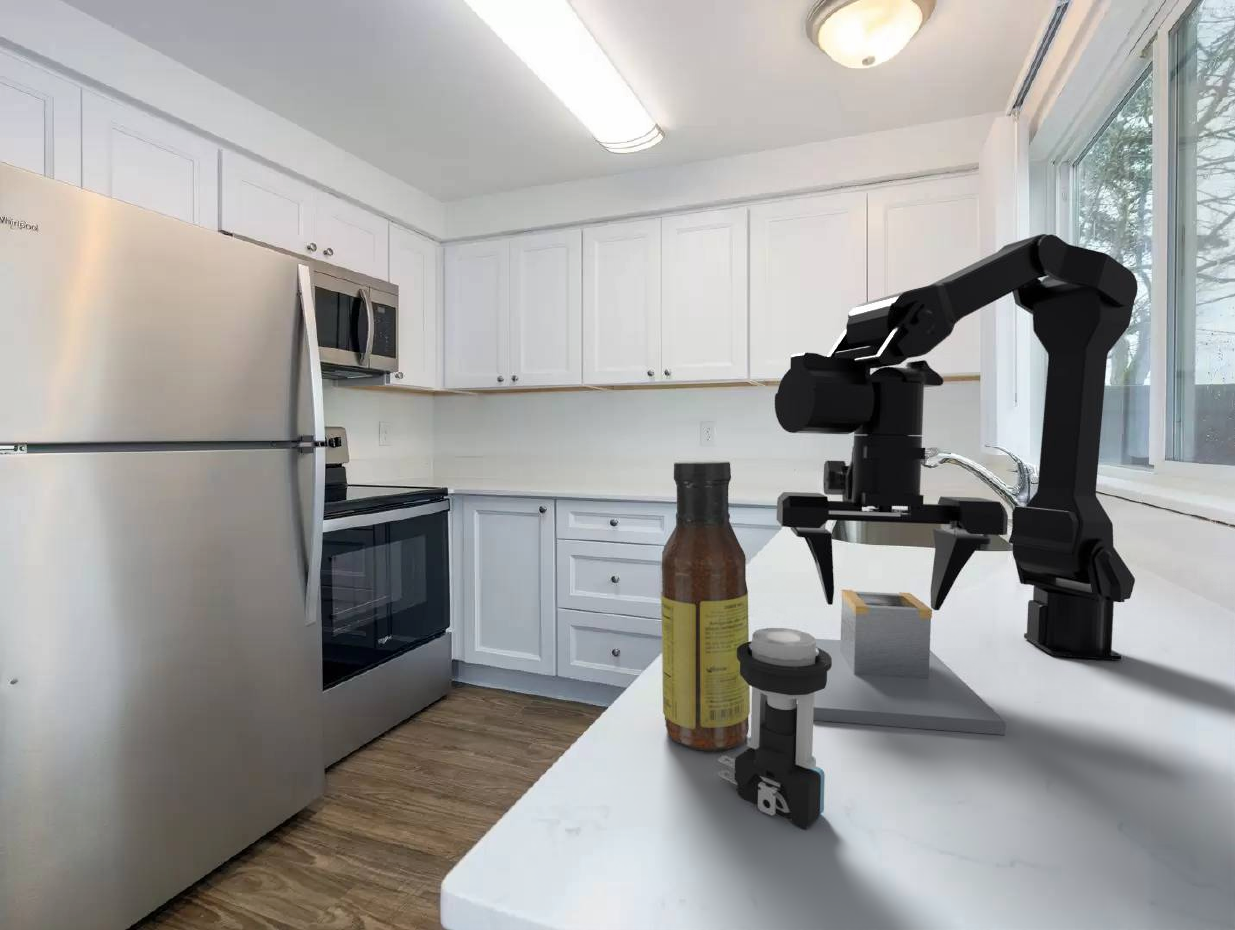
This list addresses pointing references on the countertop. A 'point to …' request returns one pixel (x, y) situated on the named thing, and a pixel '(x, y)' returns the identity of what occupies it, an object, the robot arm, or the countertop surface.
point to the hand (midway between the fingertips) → (881, 606)
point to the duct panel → (902, 699)
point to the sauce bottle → (704, 614)
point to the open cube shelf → (885, 634)
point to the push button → (781, 725)
